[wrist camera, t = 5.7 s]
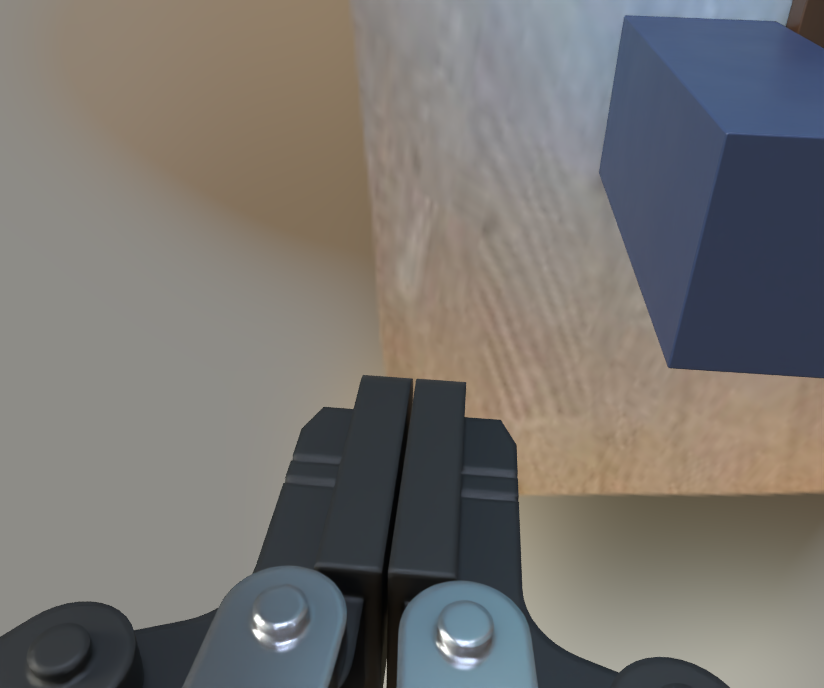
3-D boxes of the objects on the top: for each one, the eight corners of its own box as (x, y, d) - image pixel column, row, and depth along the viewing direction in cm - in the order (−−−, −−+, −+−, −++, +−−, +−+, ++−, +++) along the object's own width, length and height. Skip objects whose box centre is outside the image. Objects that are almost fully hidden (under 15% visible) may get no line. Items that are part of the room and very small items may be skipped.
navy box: (598, 172, 29) (667, 368, 18) (624, 15, 26) (726, 132, 15) (734, 180, 28) (891, 383, 17) (777, 21, 25) (997, 145, 14)
